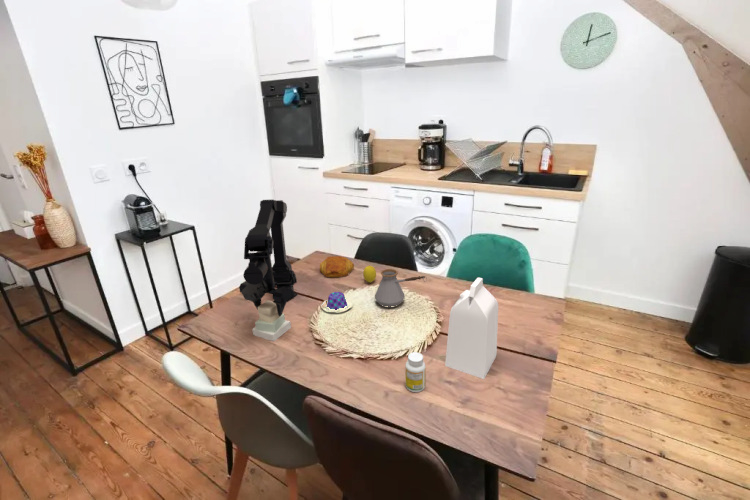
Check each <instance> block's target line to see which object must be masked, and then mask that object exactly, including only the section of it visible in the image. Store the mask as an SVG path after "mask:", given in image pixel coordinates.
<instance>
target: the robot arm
mask: <svg viewBox="0 0 750 500" xmlns="http://www.w3.org/2000/svg"><path fill="white" fill-rule="evenodd" d="M287 205H288V204H287V203H286V202H285V201H284V200H281V199H279V200H275V199H262V200H260V202H259V210H258V211H259V212H258V215H257V218H256V221H255V225H254V227H252V228H251V229H249V231H248V232H247V235H246V237H245V238H244V253H243V259H244V260H248V261H249V262H248V266H247V267H246V268H245V269H244V271H243V279H244V280H245V281H243V282H241V283H240V285H239V288H238V289H239V293H241V294H242V296H243V298H244V300H245V301H249V302H252V304H253V305H254V306H255V308H256V309H257V311H258V306H260V305H261V304H262V298H263V297H264V296H265V295H266V294H269V295H272V297H271V298H272V299H273V302H274V303H275V304H276V306H277V312H278V315H279V316H281V315H282V314H284V313H283V312H284V310H285V306H286V304H287V302H289V301H290V300H292V299H294V297H296V296H298V293H296V292H295V289H294V285H296V284H298V281H297V280H298V279H297V274H296V273H295V271H294V270H293V266H292V264H291V263H290V261H289V260H288V259H287V252H286V243H285V242H286V240H285V233H284V225H283V223H284V220H285V218H286V217H287V211H288V206H287ZM272 254H273V259H274V263H273V264H272V258H271V257H272Z"/></svg>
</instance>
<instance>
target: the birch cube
mask: <svg viewBox="0 0 750 500" xmlns="http://www.w3.org/2000/svg"><path fill="white" fill-rule="evenodd" d="M273 301H274V300H273ZM273 301H272V300H269V299H267V300H266V301H265V302H263V303H261V305H260V306H258V310H257V313H258V319H260V320H261V321H265V322H269V323H272V322H274V321H275V320H276V319H278V318H279V317H280V316H279V315H278V312H277V306H276V304H275V303H274V302H273Z"/></svg>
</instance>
